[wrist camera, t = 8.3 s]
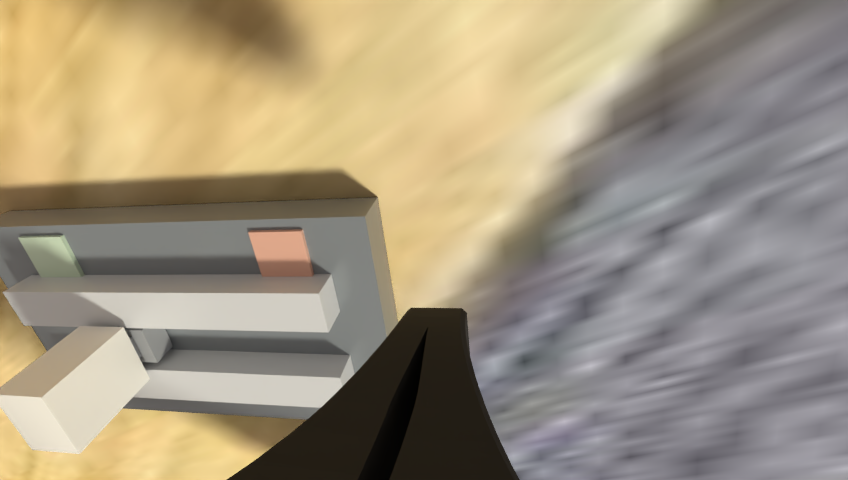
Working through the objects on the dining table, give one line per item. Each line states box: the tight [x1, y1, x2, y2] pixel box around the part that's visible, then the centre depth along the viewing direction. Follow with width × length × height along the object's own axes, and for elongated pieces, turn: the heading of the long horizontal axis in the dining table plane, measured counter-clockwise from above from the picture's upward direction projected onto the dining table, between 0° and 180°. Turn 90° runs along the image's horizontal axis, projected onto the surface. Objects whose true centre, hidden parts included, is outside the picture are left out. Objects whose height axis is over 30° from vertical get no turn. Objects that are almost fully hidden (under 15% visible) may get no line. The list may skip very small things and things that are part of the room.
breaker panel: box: [0, 197, 398, 420], centre depth 23 cm, size 20×12×4 cm, turn 96°
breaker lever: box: [0, 326, 173, 454], centre depth 21 cm, size 3×3×6 cm
